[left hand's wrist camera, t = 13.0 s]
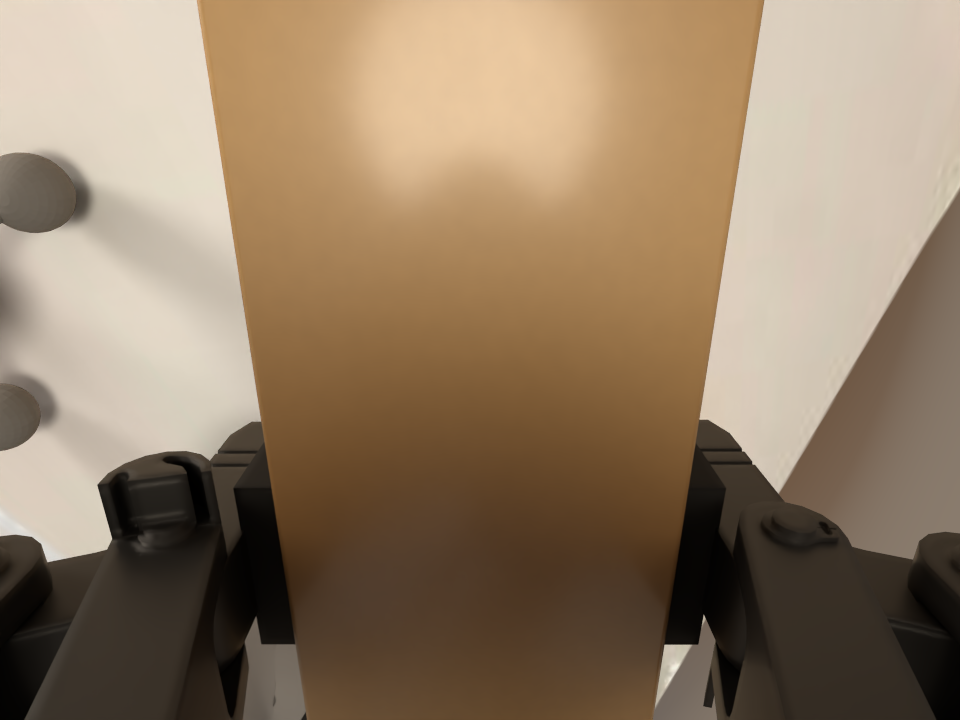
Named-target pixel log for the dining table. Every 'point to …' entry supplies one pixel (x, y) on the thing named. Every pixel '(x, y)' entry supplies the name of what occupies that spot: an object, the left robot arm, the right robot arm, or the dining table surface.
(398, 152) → the post
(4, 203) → the molecular model
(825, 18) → the dining table surface
